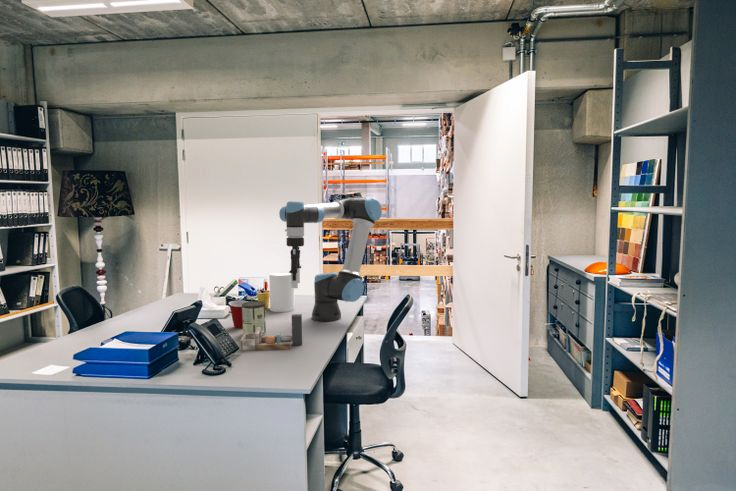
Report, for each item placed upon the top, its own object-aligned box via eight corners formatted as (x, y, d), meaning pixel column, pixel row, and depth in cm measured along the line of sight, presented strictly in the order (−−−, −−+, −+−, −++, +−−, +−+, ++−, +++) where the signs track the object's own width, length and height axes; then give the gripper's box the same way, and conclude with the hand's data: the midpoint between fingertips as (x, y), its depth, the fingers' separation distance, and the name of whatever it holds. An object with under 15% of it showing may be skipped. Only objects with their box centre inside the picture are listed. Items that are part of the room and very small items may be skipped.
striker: (302, 341, 201) (301, 314, 200) (301, 344, 197) (301, 316, 196) (277, 342, 200) (277, 314, 199) (276, 345, 196) (276, 317, 195)
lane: (292, 340, 205) (291, 325, 204) (290, 348, 193) (290, 333, 192) (244, 341, 203) (244, 326, 202) (240, 350, 191) (239, 334, 190)
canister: (282, 305, 273) (282, 271, 272) (299, 308, 266) (299, 273, 264) (265, 309, 263) (264, 274, 261) (282, 313, 255) (281, 276, 253)
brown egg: (275, 343, 200) (275, 334, 200) (275, 346, 196) (274, 336, 196) (266, 343, 200) (266, 334, 199) (265, 346, 196) (265, 337, 195)
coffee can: (250, 330, 221) (250, 300, 220) (270, 332, 218) (269, 301, 216) (238, 336, 211) (237, 305, 210) (258, 338, 208) (257, 306, 207)
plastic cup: (246, 330, 220) (245, 305, 219) (224, 329, 222) (224, 304, 221) (256, 324, 231) (255, 300, 230) (235, 323, 233) (235, 299, 232)
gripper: (289, 235, 218) (289, 281, 219) (283, 238, 193) (284, 290, 194) (305, 235, 218) (305, 281, 220) (302, 238, 193) (302, 290, 195)
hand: (295, 285), depth 207 cm, fingers open, 13 cm apart
